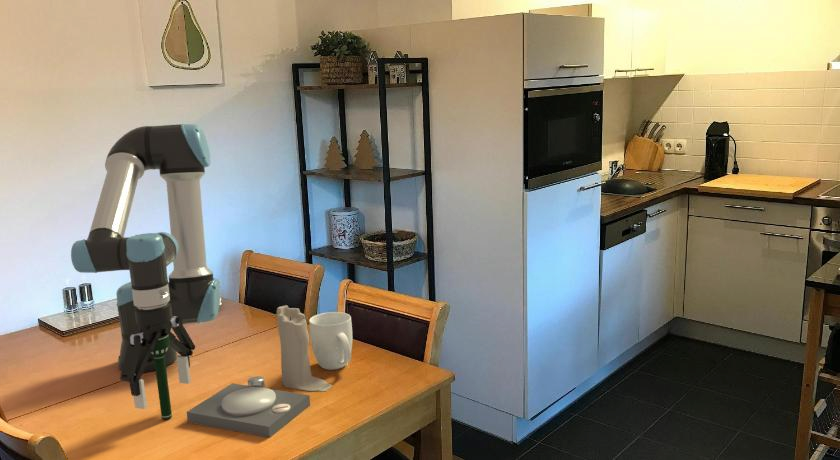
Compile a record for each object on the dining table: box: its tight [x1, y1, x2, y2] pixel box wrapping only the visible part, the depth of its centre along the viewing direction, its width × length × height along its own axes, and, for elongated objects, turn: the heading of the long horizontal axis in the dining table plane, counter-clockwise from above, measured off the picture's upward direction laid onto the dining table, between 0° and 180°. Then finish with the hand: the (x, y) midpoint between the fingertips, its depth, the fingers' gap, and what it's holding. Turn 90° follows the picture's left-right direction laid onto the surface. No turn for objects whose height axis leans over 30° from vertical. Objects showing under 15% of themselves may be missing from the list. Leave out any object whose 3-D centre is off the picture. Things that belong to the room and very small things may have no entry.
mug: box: [308, 311, 353, 371], centre depth 179 cm, size 15×11×13 cm
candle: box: [276, 304, 333, 392], centre depth 169 cm, size 7×14×20 cm, turn 61°
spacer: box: [247, 375, 266, 388], centre depth 169 cm, size 4×4×2 cm
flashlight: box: [145, 334, 173, 421], centre depth 153 cm, size 5×5×20 cm
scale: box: [186, 382, 311, 439], centre depth 156 cm, size 22×16×4 cm
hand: (164, 394), depth 154 cm, fingers open, 13 cm apart
